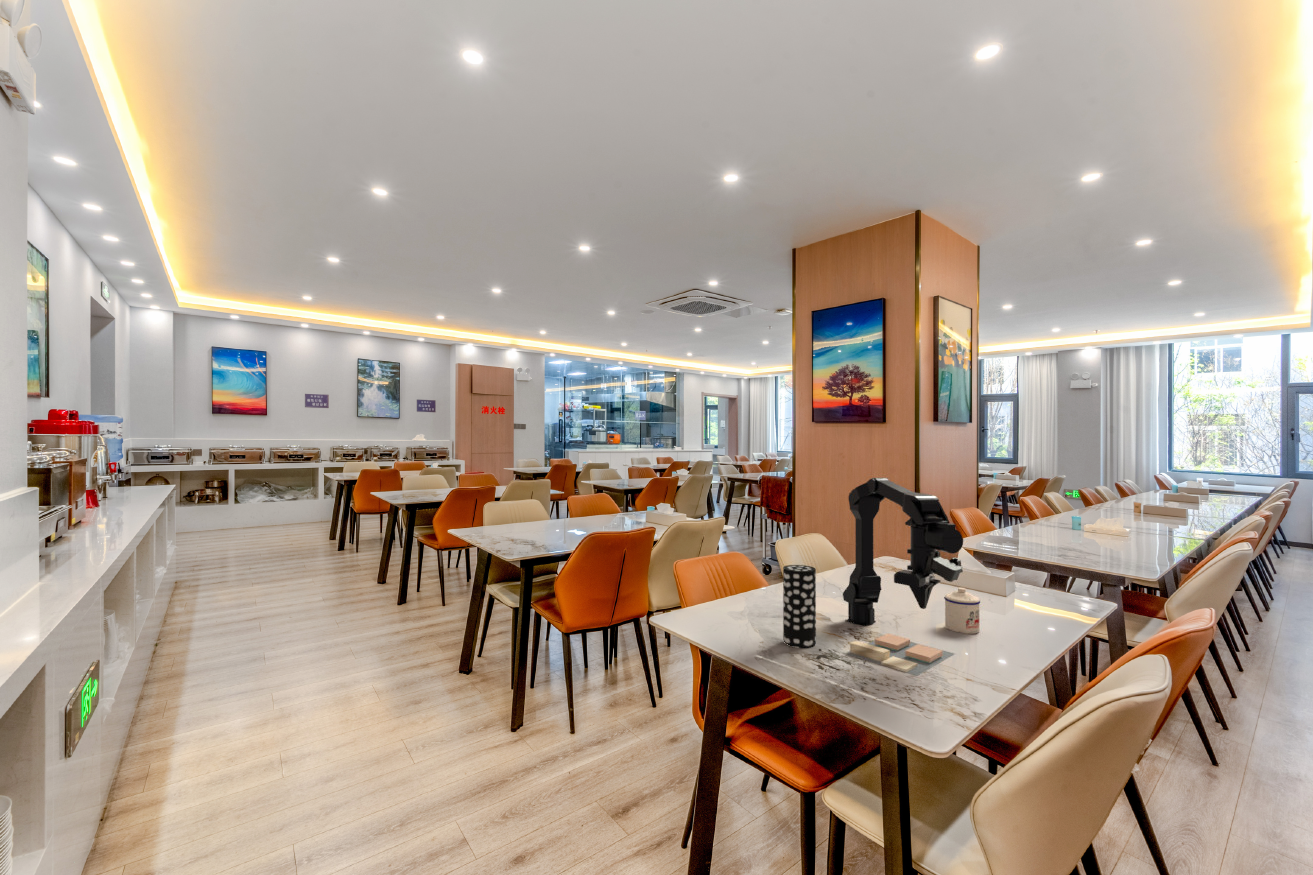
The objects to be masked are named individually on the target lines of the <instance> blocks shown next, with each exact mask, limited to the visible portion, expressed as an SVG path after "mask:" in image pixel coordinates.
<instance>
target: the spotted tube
mask: <svg viewBox="0 0 1313 875" xmlns="http://www.w3.org/2000/svg"><path fill="white" fill-rule="evenodd" d="M816 570H817V569H816V567H814V566H810V565H804V564H789V565H784V566H783V568H782V577H783V578H782V585H783V587H782V588H783V591H782V595H783V596H782V598H783V600H782V601H783V602H782V603H783V606H782V608H783V609H782V610H783V613H782V614H783V616H782V618H783V619H782V620H783V621H782V622H783V627H782V628H783V630H782V631H783V633H782V635H783V640H784V642H785V643H786V644H788V645H790V646H794V647H798V648H797V649H812V648H814V647H816V645H817V623H816V622H817V614H816V613H817V610H816V609H817V599H816V598H817V597H816V596H817V593H816V591H817V590H816V588H817V587H816V586H817V584H816V583H817V581H816V580H817V578H816V577H817V575H816V573H817V571H816ZM783 640H782V641H783ZM786 644H785V645H786ZM788 645H787V646H788ZM790 646H789V647H790ZM794 647H793V648H794Z"/></svg>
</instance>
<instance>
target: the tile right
mask: <svg viewBox="0 0 1313 875" xmlns="http://www.w3.org/2000/svg"><path fill="white" fill-rule="evenodd" d="M917 644H918V645H916V646H914V647H912V648H910V649H908V650H906V651H905V656H907V657H908V658H912V659H915V660H918V661H922V662H925V663H929V664H930V663H932V662H933V661H935V660H937V659H939V658H940V657H941V656H943V651H942V650H943V649H940V650H938V649H939V648H936V649H935V647H932V646H929V647H927V646H928V645H925V646H923V645H924V644H921V643H917ZM920 644H921V645H920ZM931 647H932V648H931Z"/></svg>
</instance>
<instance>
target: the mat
mask: <svg viewBox="0 0 1313 875" xmlns="http://www.w3.org/2000/svg"><path fill="white" fill-rule="evenodd" d="M867 644H869V645H873V646H876V647H880V646H877V644H875V639H874V640H872V641H870V642H868V643H867ZM918 644H920V645H923V646H927V647H931V648H933V647H932V646H928V645H924V644H922V643H916V642H912V641H910V644H909V646H907V647H904V648H902V649H900V650H898V651H894V650H891V649H887V648H884V647H880V648H884V649H887V650H890V657H892V656H894V657H897V658H900V659H904V660H907V661H911V662H914V663H917V667H915V668H913V669H911V670H909V671H907V672H904V671H901V670H898V669H894V668H891V667H888V666H885V665H881V662H880V661H877V660H873V659H870V658H867V657H863V656H860V655H857V654H854V653H850V650H849V651H847V652H845V653H844V654H845V655H848V656H851V657H855V658H856V659H860V660H864V661H867V662H871V663H874V664H877V665H880V666H883V667H887V668H890V669H892V670H895V671H899V672H903V673H905V674H906V673H907V674H909V675H912V676H916V677H918V676H919V675H921V674H923V673H924V672H926V671H928V670H930V669H932V668H934V666H937V665H939V664H940V663H942V662H944V661H945V660H947V659H949V658H951V657H953V656H954V655H955V654H956V653H954V652H951V651H947V650H943V649H940V648H935V647H934V648H935V649H938V650H942V651H943V656H941V657H940V658H939V659H937V660H935V661H933V662H932V663H930V664H929V663H925V662H922V661H918V660H915V659H912V658H908V657H907V656H905V651H906V650H908V649H910V648H912V647H914V646H916V645H918Z"/></svg>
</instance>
